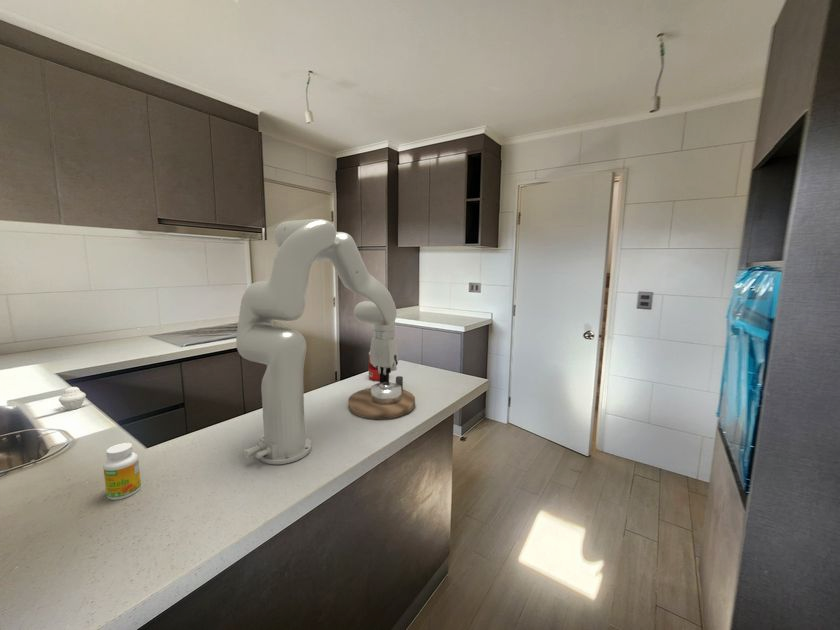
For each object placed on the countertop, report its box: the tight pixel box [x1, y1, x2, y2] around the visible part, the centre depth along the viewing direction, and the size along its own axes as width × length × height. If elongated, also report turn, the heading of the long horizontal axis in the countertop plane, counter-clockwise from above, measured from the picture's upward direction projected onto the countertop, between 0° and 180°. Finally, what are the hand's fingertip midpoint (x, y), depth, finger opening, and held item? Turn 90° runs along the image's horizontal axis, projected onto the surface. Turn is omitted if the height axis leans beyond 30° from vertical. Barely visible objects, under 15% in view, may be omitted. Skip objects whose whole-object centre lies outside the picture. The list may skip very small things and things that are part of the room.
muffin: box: [58, 386, 87, 411], centre depth 111 cm, size 6×6×7 cm
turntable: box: [347, 375, 416, 420], centre depth 117 cm, size 22×22×7 cm
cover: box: [370, 381, 401, 405], centre depth 116 cm, size 10×10×5 cm
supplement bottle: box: [102, 442, 142, 501], centre depth 71 cm, size 5×5×10 cm
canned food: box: [368, 351, 388, 382], centre depth 144 cm, size 8×8×11 cm
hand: (384, 383), depth 128 cm, fingers closed
